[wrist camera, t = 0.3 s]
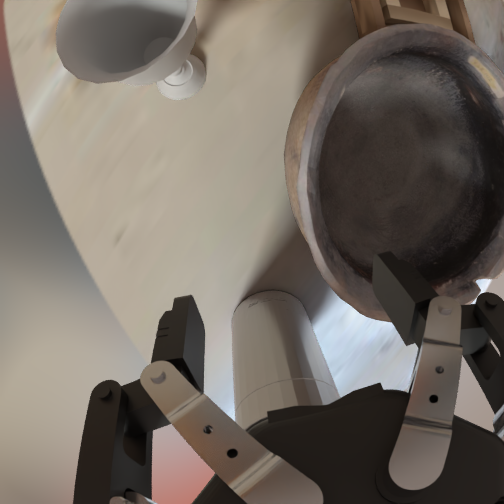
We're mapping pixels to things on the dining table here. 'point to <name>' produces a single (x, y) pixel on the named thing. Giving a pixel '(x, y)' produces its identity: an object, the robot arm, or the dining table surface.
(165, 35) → the chalice
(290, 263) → the dining table surface
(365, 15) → the walnut tray
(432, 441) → the robot arm
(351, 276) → the ceramic bowl
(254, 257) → the dining table surface
